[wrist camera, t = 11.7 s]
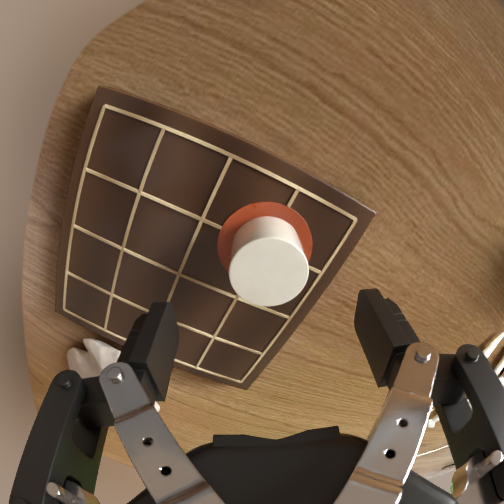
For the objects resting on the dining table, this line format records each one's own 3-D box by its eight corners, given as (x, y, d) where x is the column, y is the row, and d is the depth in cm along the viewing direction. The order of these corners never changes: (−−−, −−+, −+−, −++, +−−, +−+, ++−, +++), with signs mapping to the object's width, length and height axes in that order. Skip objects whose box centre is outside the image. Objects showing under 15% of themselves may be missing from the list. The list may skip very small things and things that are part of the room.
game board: (62, 301, 21) (54, 312, 20) (109, 86, 14) (97, 85, 12) (246, 377, 25) (246, 391, 23) (368, 205, 17) (377, 213, 16)
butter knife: (476, 459, 56) (482, 455, 54) (438, 471, 51) (445, 467, 50) (476, 457, 56) (482, 453, 55) (438, 469, 52) (445, 465, 51)
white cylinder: (221, 262, 17) (215, 290, 15) (250, 204, 16) (250, 223, 13) (279, 286, 18) (284, 316, 16) (312, 233, 17) (324, 258, 14)
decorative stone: (81, 307, 22) (71, 375, 28) (56, 334, 18) (56, 395, 25) (184, 376, 23) (143, 422, 30) (170, 411, 19) (132, 445, 26)
